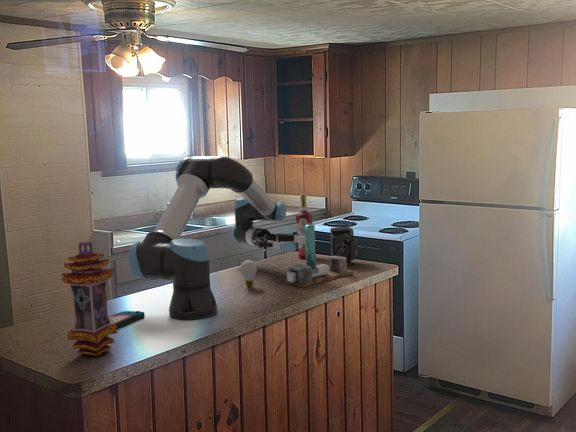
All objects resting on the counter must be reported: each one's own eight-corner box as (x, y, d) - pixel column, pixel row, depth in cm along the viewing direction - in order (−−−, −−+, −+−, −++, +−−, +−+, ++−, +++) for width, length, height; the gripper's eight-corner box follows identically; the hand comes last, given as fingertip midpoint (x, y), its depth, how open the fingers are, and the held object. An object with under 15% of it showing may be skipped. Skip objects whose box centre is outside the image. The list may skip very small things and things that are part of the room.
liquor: (315, 255, 281) (313, 193, 278) (312, 259, 274) (309, 195, 270) (299, 255, 283) (296, 193, 279) (295, 259, 276) (293, 195, 272)
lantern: (67, 357, 165) (57, 244, 161) (90, 345, 173) (81, 238, 169) (98, 361, 161) (88, 246, 157) (120, 349, 170) (112, 239, 166)
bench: (302, 286, 228) (301, 268, 227) (286, 282, 235) (285, 265, 234) (352, 273, 245) (352, 257, 244) (336, 270, 251) (335, 254, 250)
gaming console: (123, 309, 203) (146, 310, 199) (124, 316, 204) (147, 318, 199) (64, 331, 183) (89, 333, 178) (65, 340, 183) (90, 342, 178)
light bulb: (258, 284, 233) (257, 258, 232) (256, 289, 228) (255, 261, 226) (243, 285, 234) (241, 258, 233) (240, 289, 228) (238, 262, 227)
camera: (358, 265, 258) (357, 229, 256) (332, 266, 258) (331, 230, 256) (355, 260, 268) (354, 225, 266) (331, 261, 269) (329, 226, 266)
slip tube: (293, 282, 228) (291, 229, 226) (286, 280, 231) (284, 228, 229) (329, 273, 240) (328, 223, 237) (322, 271, 243) (320, 222, 240)
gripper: (282, 241, 267) (316, 247, 251) (234, 251, 252) (267, 258, 235) (281, 224, 266) (316, 229, 250) (233, 232, 250) (266, 238, 234)
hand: (292, 243), depth 243 cm, fingers open, 13 cm apart
